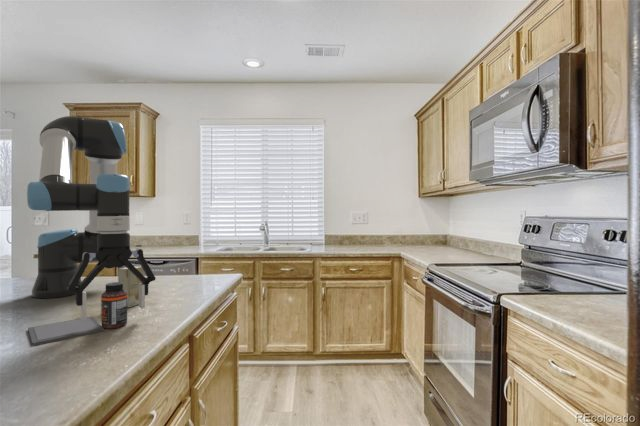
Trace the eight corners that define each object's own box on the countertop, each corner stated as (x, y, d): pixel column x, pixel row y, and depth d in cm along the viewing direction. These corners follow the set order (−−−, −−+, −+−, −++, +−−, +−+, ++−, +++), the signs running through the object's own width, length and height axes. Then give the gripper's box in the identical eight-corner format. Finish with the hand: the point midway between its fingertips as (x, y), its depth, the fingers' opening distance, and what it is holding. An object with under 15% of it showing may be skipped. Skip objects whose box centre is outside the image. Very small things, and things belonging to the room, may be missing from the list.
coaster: (28, 330, 89) (28, 327, 89) (92, 318, 99) (92, 316, 99) (32, 345, 79) (32, 342, 79) (103, 331, 89) (103, 328, 89)
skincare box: (129, 308, 109) (129, 269, 109) (117, 307, 110) (117, 268, 110) (143, 302, 116) (143, 266, 116) (132, 302, 117) (131, 265, 117)
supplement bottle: (97, 326, 92) (96, 284, 92) (120, 320, 97) (120, 280, 97) (107, 331, 89) (107, 286, 89) (131, 324, 94) (131, 282, 94)
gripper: (57, 235, 81) (57, 326, 82) (167, 231, 99) (167, 306, 99) (53, 234, 87) (53, 319, 87) (157, 230, 104) (158, 301, 104)
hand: (114, 312), depth 93 cm, fingers open, 13 cm apart
